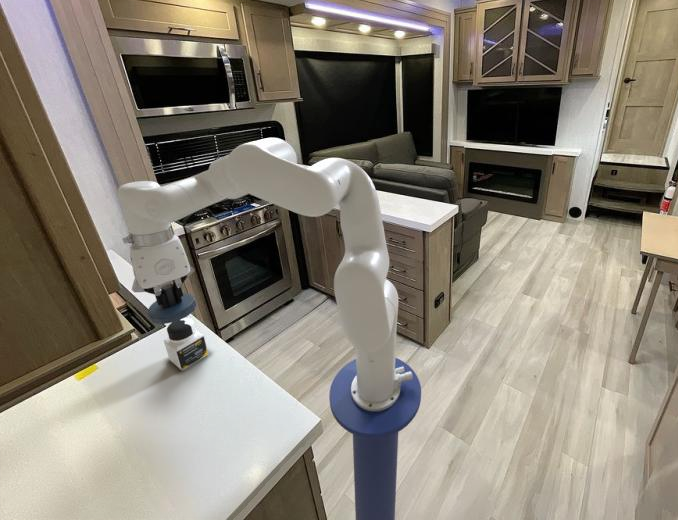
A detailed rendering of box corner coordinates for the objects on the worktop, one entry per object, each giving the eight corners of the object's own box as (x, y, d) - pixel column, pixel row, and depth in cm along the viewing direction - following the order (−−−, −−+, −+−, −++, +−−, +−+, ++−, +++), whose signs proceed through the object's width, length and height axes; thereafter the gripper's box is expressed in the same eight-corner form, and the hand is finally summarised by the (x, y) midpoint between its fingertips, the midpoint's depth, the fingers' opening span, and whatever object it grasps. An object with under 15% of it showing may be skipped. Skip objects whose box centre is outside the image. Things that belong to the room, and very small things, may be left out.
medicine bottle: (182, 371, 85) (171, 336, 81) (169, 360, 89) (158, 325, 84) (208, 354, 91) (200, 320, 87) (195, 344, 94) (186, 311, 90)
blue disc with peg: (198, 297, 85) (193, 273, 83) (191, 318, 77) (185, 293, 75) (157, 304, 82) (150, 280, 79) (145, 327, 74) (136, 301, 71)
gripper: (111, 253, 64) (136, 326, 71) (198, 230, 76) (212, 294, 83) (102, 242, 68) (126, 312, 75) (186, 222, 80) (200, 284, 87)
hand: (171, 302), depth 79 cm, fingers closed on blue disc with peg, 2 cm apart
